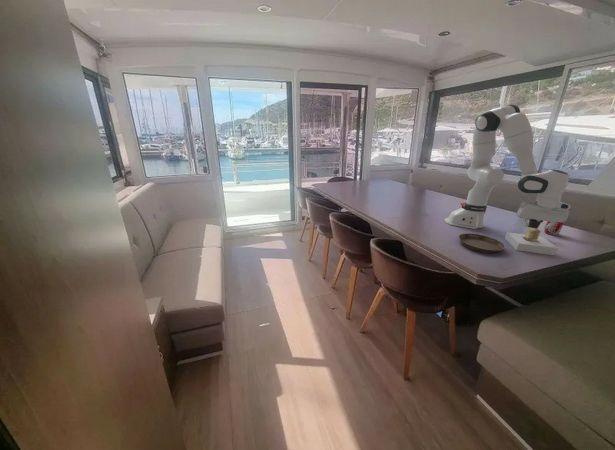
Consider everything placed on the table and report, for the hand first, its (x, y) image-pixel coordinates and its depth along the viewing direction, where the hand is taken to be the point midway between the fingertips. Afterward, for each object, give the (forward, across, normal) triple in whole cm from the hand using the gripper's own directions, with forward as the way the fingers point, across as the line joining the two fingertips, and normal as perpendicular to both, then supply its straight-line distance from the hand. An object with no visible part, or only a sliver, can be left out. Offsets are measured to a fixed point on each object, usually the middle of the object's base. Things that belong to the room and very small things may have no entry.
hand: (536, 227), depth 129 cm
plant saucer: (+12, -26, -9) cm, 30 cm away
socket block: (+11, -1, -2) cm, 11 cm away
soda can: (+10, +23, +25) cm, 35 cm away
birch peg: (+11, -1, -1) cm, 11 cm away
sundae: (+11, +8, +17) cm, 22 cm away
